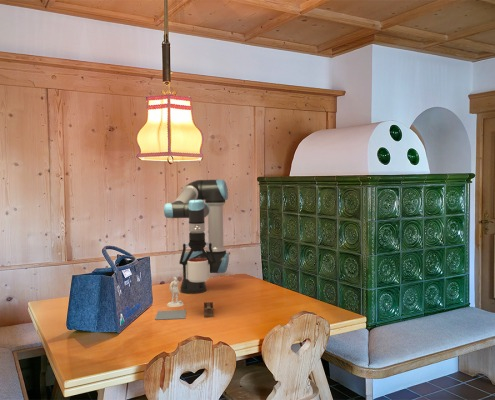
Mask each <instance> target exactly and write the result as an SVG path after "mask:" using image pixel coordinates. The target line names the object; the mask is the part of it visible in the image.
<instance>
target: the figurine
mask: <svg viewBox="0 0 495 400" xmlns="http://www.w3.org/2000/svg"><path fill="white" fill-rule="evenodd" d="M179 284H180V281H179V280H178V278H177V277H176V276H173V281H171V282H170V285H169V287H168V288H169V291H170V293H171V294H172V296H171V301H168V303H167V304H166V307H169V308H179V307H182V306H184V302H183V301H182V300H179V296H178V295H181V291H180V289H179ZM174 299H175V300H174Z"/></svg>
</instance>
